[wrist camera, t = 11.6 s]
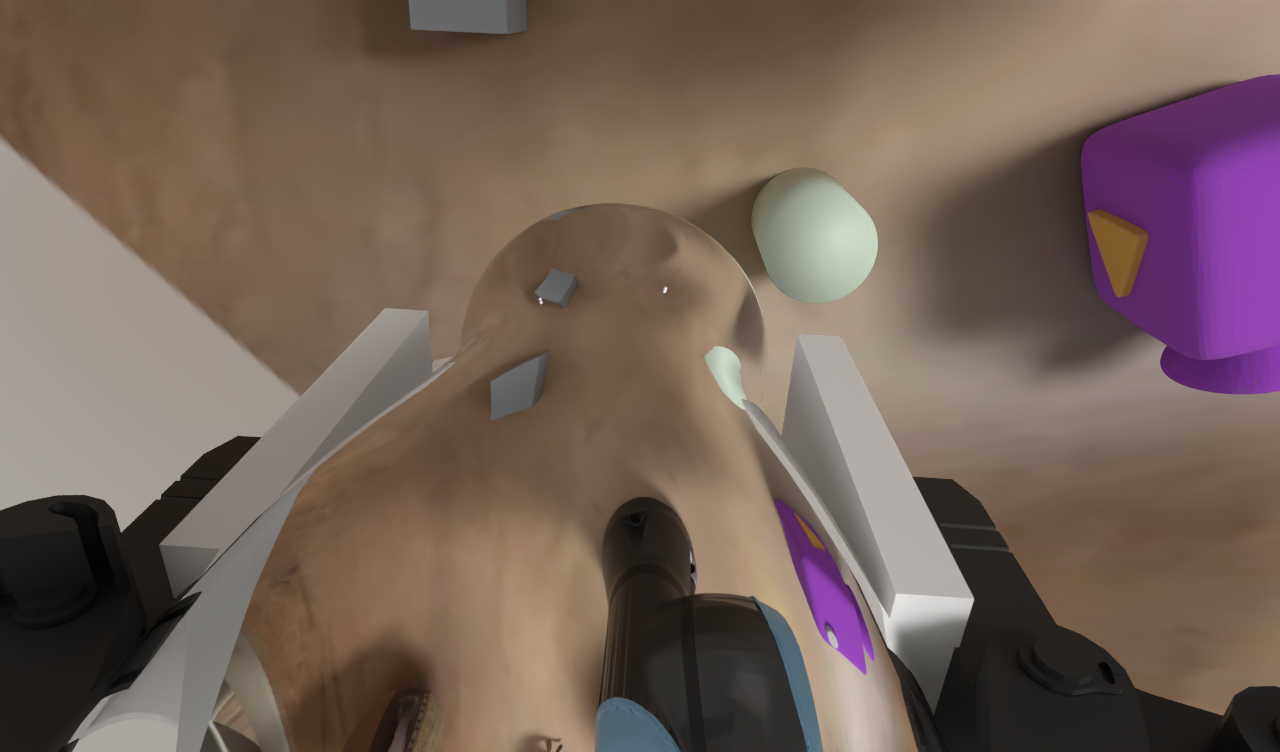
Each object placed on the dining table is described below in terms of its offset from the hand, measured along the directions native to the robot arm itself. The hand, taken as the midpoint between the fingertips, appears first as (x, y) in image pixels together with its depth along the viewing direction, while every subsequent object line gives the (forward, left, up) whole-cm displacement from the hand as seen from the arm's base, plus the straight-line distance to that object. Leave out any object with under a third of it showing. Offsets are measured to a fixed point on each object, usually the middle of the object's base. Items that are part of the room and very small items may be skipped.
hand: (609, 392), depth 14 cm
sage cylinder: (+3, +8, -27) cm, 28 cm away
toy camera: (+2, +27, -27) cm, 38 cm away
